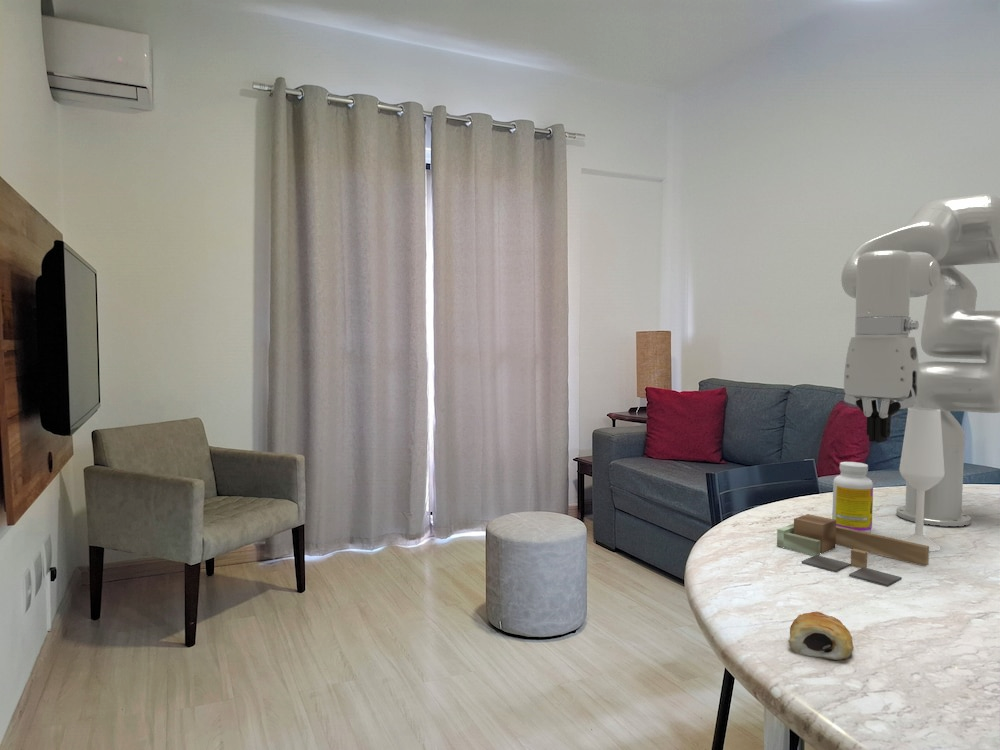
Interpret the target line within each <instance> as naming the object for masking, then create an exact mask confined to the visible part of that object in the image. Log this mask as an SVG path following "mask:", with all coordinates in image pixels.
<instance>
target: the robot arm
mask: <svg viewBox="0 0 1000 750" xmlns="http://www.w3.org/2000/svg"><path fill="white" fill-rule="evenodd" d="M999 263H1000V197H998V195H995V194H991V193H980V194H970V195H964V196H957V197H955V196H953V197H948V198H947V197H945V198H939V199H935V200H931V201H928V202H927V203H925V204H923V205H922V206H920V208H919V209H918V210H917V211H915V213H914V214H913V216H911V218H910V219H909V220H908V221H907V223H905V225H904V226H901V227H899V228H897V229H895V230H892V231H890V232H887V233H885V234H883V235H879V236H877V237H875V238H873V239H870V240H868V241H866V242H864V243H862V244H861V245H860V246H858V247H857V248H856V249H855V250H854V251H853V252H852V253H851V254H850V256H849V257H848V258H847V260H846V262H845V264H844V266H843V268H842V272H841V280H840V281H841V286H842V289H843V290H844V292H845V294H846V295H847V296H848V297H850V298H853V299H855V320H854V321H855V323H854V324H855V325H854V327H855V328H854V336H851V337H850V339H849V340H850V341H849V344H848V347H847V352H846V357H845V358H846V359H845V366H844V373H843V391H844V393H845V394H844V398H843V401H844V402H845V403H848V404H850V405H854V406H857V407H858V408H859V409H860V410H861V412H863V414H864V416H865V417H866V435H867V436H868V442H870V443H871V442H872V443H875V442H876V443H885V442H887V441H888V438H890V437H891V436H890V435H891V420H892V417H893V416H895V414H896V413H897V412H899V411H901V409H902V410H903V409H908V408H930V409H938V410H940V413H941V428H942V443H943V458H944V472H945V474H944V477H943V478H942V480H941V481H940V482H939V483H938V484H936V485H935V486H933V487H932V488H930V489H929V490H926V491H925V496H924V520H923V525H928V524H930V525H931V526H935V525H940V526H939V527H948V526H959V527H965V526H964V525H966V526H969V525H970V524H971V522H972V518H971V516H970V515H969V514H967V513H964V512H962V507H963V506H962V505H963V491H964V490H963V488H964V487H963V484H964V465H965V464H964V463H965V461H964V460H965V444H966V443H965V442H966V436H965V431H964V429H963V427H962V425H961V424H960V422H959V421H958V420H957V419H956V418H955V416H954V415H953V414H952V412H965V413H966V412H967V413H986V414H997V413H998V414H999V413H1000V310H976V307H977V306H976V305H977V298H978V290H977V288H976V285H974V283H973V282H972V281H971V280H970V279H969V278H968V277H967V275H965V274H964V273H963V272H961V271H960V270H959V269H958V268H957V267H955V266H968V265H983V264H984V265H985V264H999ZM923 296H924V297H925V296H926V302H925V310H924V315H923V321H922V327H921V334H920V335H921V336H920V347H921V348H922V351H923V352H924V354H926V355H927V356H929V357H933V358H937V359H939V358H941V359H959V360H983V361H985V362H966V361H965V362H964V361H963V362H961V361H944V360H943V361H936V360H935V361H934V360H933V361H924V362H919V355H918V348H917V342H916V338H915V336H909V334H910V333H911V331H913V330H918V329H919V327H920V325H919V321H918V320H912V319H911V316H910V301H911V300H910V299H911V298H919V297H923ZM878 400H881V403H880V407H879V404H878ZM905 482H906V481H905ZM916 499H917V490H916V489H914V488H913V487H911V486H910V485H909V484H908V483H907V482H906V483H905V505H901V506H898V507H897V508H895V509H896V510H895V511H896V512H895V513H896V515H897V516H898V517H900V518H902V519H904V520H907V521H909V520H910V521H909V522H913V521H914V522H913V523H916ZM930 525H929V526H930Z"/></svg>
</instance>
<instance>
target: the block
mask: <svg viewBox="0 0 1000 750" xmlns="http://www.w3.org/2000/svg"><path fill="white" fill-rule="evenodd" d="M793 524H794V533H793V534H796V535H800V536H804V537H808V538H812V539H816V540H820V541H821V542H820V553H821V554H822V553H823V554H824V553H827V552H829V550H830V551H831V550H832V551H833V550H835V549H836V546H837V545H836V520H834V519H832V518H829V517H824V516H819V515H813V514H808V513H807V514H805V515H800V516H798V517H796V518H793ZM821 554H820V555H821Z"/></svg>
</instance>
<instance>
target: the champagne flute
mask: <svg viewBox="0 0 1000 750" xmlns="http://www.w3.org/2000/svg"><path fill="white" fill-rule="evenodd" d="M903 435H904V436H903V441H902V442H903V443H902V449H901V454H900V455H901V456H900V462H899V469H898V470H899V473H900V475H901V477H902V478H903V479H904V481H905V482H907V483H908V484H909V485H910V486H911V487H913V488H914V489H916V490H917V499H916V522H915V527H914V533H913V534H911V535H908V536H906V537H902V538H901V539H900V540H903V541H907V542H912V543H916V544H921V545H925V546H929V552H936V551H935V550H938V551H940V550H941V549H940V547H941V546H939V545H938V544H937V543H935V542H934V541H932V540H931V539H930V538H928V537H926V536H925V535H924V524H923V520H924V496H925V491H926V490H929V489H930V488H932V487H933V486H935V485H936V484H938V483H939V482H940V481H941V480H942V478H943V477H944V474H945V472H944V458H943V443H942V428H941V413H940V410H938V409H930V408H907V415H906V422H905V428H904V434H903ZM939 549H940V550H939Z"/></svg>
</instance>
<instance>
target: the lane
mask: <svg viewBox="0 0 1000 750" xmlns="http://www.w3.org/2000/svg"><path fill="white" fill-rule="evenodd" d="M793 533H794V523H792V524H789V525H785V526H784V527H783V526H782V527H780V528H777V529H776V547H778V546H781V547H780V548H782V547H784V548H783V549H786V548H787V549H786V550H789V549H791V550H790V551H793V550H795V551H794V552H797V551H798V552H797V553H801V552H802V554H805V553H806V554H805V555H809V556H810V557H808V558H806V559H803V560H801V562H802V563H801V564H803V565H807V566H808V565H809V566H811V567H815V568H818V569H822V570H826V571H829V572H832V573H838V572H840V571H842V570H844V569H846V568H849V567H850V566H851V567H854V568H858V569H857V570H855V571H853V572H851V573H848V577H852V578H855V579H858V580H861V581H866V582H870V583H872V584H876V585H879V586H883V587H884V586H885V587H889V586H891V585H894V584H895V583H898V582H899V581H901V580H902V576H900V575H899V576H898V575H895V574H892V573H888V572H884V571H880V570H876V569H872V568H868V553H870V554H874V555H878V556H882V557H886V558H890V559H893V560H898V561H902V562H906V563H911V564H914V565H918V566H919V565H920V566H922V567H923V566H924V567H927V566H929V560H930V559H929V556H930V551H929V546H925V545H921V544H916V543H912V542H907V541H903V540H901V539H898V538H893V537H890V536H889V537H888V536H884V535H880V534H876V533H872V532H871V533H867V532H862V531H858V530H853V529H849V528H844V527H840V526H836V546H841V547H846V548H849V549H851V550H850V562H849V563H848V562H845V561H841V560H838V559H833V558H829V557H826V556H824V555H821V554H820V542H821V541H820V540H816V539H812V538H808V537H804V536H800V535H796V534H793Z"/></svg>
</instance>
